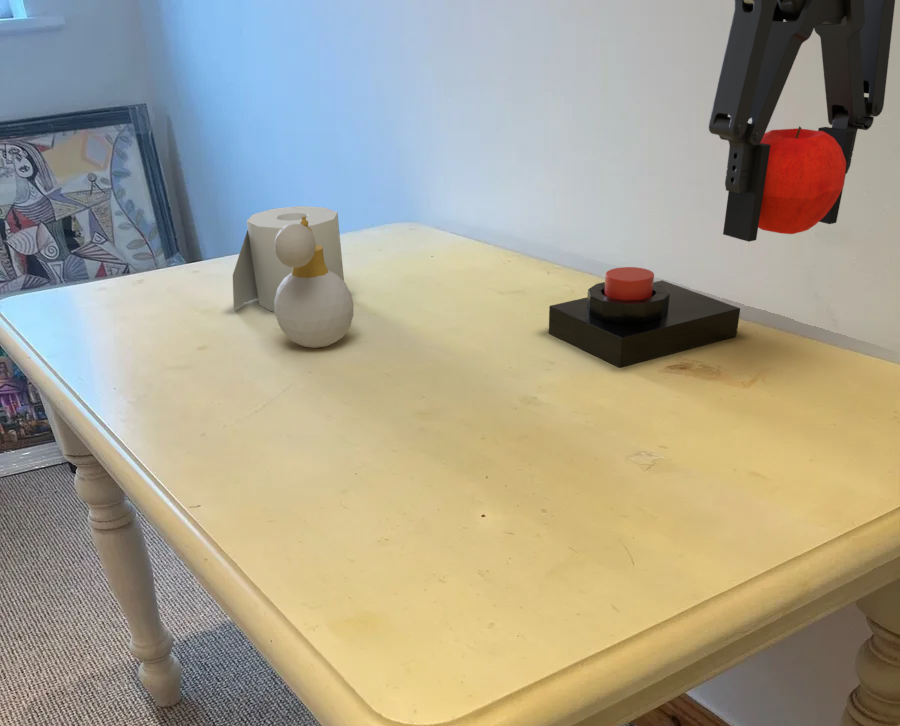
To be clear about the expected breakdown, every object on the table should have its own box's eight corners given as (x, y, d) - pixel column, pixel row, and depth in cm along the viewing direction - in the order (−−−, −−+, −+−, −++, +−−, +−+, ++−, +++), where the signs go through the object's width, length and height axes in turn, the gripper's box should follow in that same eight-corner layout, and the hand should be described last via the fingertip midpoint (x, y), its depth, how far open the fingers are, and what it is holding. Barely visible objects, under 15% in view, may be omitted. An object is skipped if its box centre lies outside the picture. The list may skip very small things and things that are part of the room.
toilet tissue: (215, 313, 99) (200, 228, 94) (304, 281, 108) (295, 202, 103) (273, 329, 95) (261, 241, 90) (362, 294, 103) (355, 212, 98)
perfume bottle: (347, 326, 95) (335, 200, 88) (370, 358, 87) (359, 223, 80) (273, 336, 93) (255, 208, 86) (290, 369, 85) (272, 232, 78)
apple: (720, 241, 71) (734, 133, 66) (732, 217, 77) (746, 116, 72) (832, 248, 68) (854, 136, 64) (835, 222, 74) (856, 118, 70)
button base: (659, 306, 96) (664, 261, 94) (736, 336, 89) (743, 288, 86) (548, 333, 91) (549, 286, 88) (619, 367, 83) (623, 317, 80)
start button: (631, 286, 89) (633, 264, 88) (662, 297, 86) (664, 275, 85) (594, 294, 87) (595, 272, 86) (624, 306, 84) (626, 283, 83)
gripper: (901, -142, 66) (834, 201, 79) (676, -143, 58) (644, 239, 71) (999, -151, 61) (910, 217, 74) (767, -154, 52) (714, 261, 66)
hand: (780, 228), depth 72 cm, fingers closed on apple, 8 cm apart
